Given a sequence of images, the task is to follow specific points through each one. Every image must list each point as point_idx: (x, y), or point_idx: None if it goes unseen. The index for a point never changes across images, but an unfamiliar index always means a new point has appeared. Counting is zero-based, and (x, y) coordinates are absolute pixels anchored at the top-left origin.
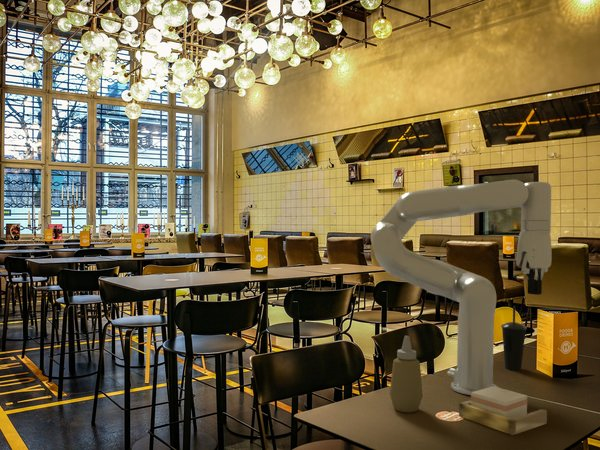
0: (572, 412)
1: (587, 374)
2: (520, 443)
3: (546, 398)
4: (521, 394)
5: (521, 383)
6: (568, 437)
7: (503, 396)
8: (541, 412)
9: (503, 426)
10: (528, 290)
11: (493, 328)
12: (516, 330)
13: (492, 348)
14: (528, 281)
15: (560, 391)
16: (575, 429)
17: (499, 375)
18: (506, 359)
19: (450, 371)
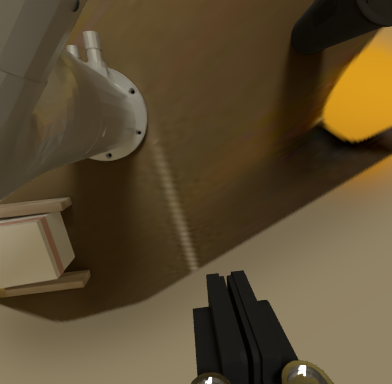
0: (164, 261)
1: (388, 144)
2: (4, 303)
3: (186, 206)
4: (51, 272)
5: (223, 127)
6: (78, 312)
7: (12, 268)
8: (70, 288)
9: None
10: (208, 290)
11: (70, 160)
12: (359, 14)
13: (89, 156)
14: (220, 345)
15: (241, 192)
16: (110, 300)
17: (233, 62)
18: (302, 21)
19: (83, 39)
